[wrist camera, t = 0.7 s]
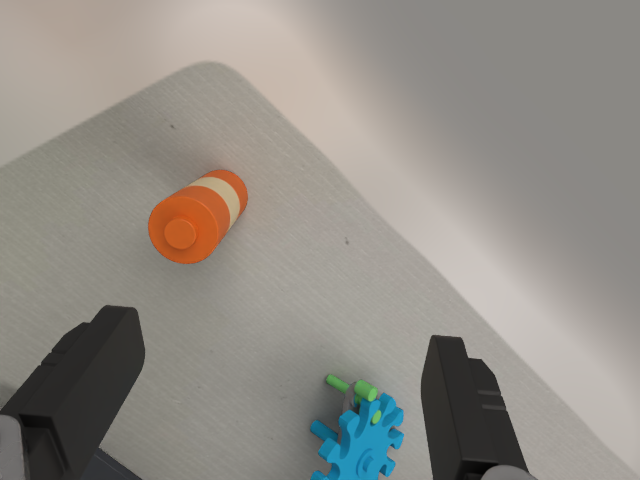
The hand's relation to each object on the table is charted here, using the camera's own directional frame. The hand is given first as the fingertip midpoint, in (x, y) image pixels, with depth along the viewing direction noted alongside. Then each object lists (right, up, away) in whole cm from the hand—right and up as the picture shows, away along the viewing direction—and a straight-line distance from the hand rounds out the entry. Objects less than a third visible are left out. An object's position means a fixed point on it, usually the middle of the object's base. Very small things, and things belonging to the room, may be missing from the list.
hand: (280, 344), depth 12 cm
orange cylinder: (-6, +6, +19) cm, 21 cm away
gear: (+4, -12, +25) cm, 28 cm away
